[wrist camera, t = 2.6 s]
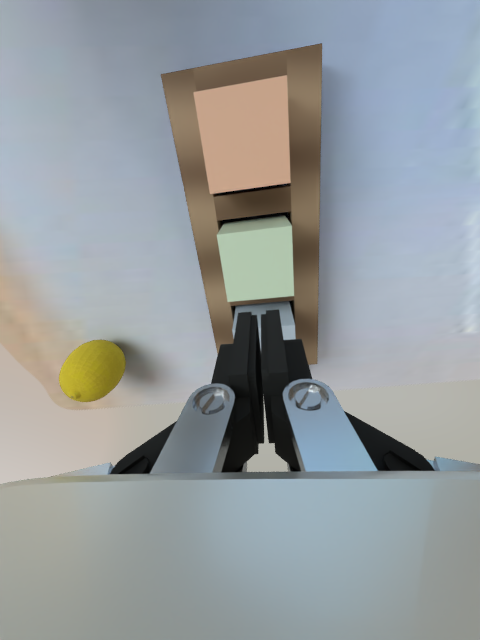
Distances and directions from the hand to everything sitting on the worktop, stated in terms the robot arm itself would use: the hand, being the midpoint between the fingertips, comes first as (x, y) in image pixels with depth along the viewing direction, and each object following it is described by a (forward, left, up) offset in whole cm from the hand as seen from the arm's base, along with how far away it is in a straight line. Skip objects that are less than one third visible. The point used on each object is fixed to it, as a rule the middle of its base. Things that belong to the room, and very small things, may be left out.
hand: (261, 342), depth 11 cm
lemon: (+10, -18, -16) cm, 26 cm away
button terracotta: (-8, 0, -14) cm, 16 cm away
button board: (0, 0, -16) cm, 16 cm away
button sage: (0, 0, -14) cm, 14 cm away
